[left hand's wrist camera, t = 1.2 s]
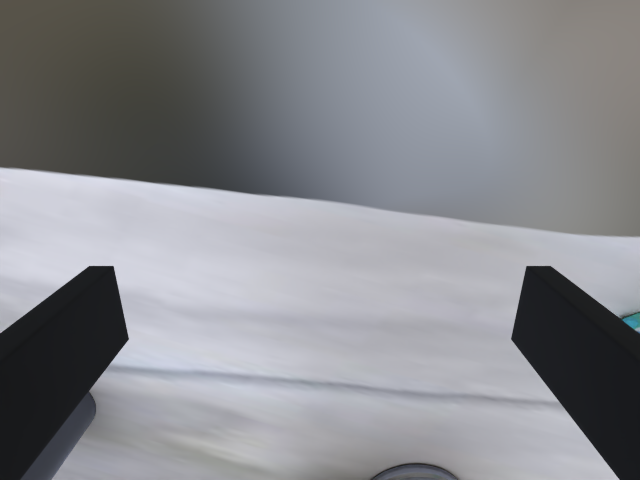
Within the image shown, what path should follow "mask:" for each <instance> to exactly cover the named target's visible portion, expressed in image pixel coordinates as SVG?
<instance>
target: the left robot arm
mask: <svg viewBox="0 0 640 480" xmlns="http://www.w3.org/2000/svg"><path fill="white" fill-rule="evenodd" d="M128 340H129V338H128V333H127V328H126V323H125V319H124V314H123V309H122V304H121V300H120V295H119V290H118V285H117V281H116V276H115V271H114V266H89V267H88V268H86V269H85V270H84V271H82V272H81V273H80V274H78V275H77V276H76V277H74V278H73V279H72V280H70V281H69V282H68V283H66V284H65V285H64V286H62V287H61V288H60V289H58V290H57V291H56V292H55V293H53V294H52V295H51V296H49V297H48V298H47V299H45V300H44V301H43V302H41V303H40V304H39V305H37V306H36V307H35V308H33V309H32V310H31V311H29V312H28V313H27V314H25V315H24V316H23V317H21V318H20V319H19V320H17V321H16V322H15V323H14V324H12V325H11V326H10V327H8V328H7V329H6V330H4V331H3V332H2V333H0V480H20V479H21V478H22V477H23V476H24V474H25V473H26V472H27V470H28V469H29V468H30V466H31V465H32V464H33V463H34V461H35V460H36V459H37V457H38V456H39V455H40V454H41V452H42V451H43V450H44V448H45V447H46V446H47V444H48V443H49V442H50V441H51V439H52V438H53V437H54V435H55V434H56V433H57V432H58V430H59V429H60V428H61V426H62V425H63V424H64V422H65V421H66V420H67V419H68V417H69V416H70V415H71V413H72V412H73V411H74V410H75V408H76V407H77V406H78V404H79V403H80V402H81V400H82V399H83V398H84V397H85V395H86V394H87V393H88V391H89V390H90V389H91V387H92V386H93V385H94V384H95V382H96V381H97V380H98V378H99V377H100V376H101V375H102V373H103V372H104V371H105V369H106V368H107V367H108V365H109V364H110V363H111V362H112V360H113V359H114V358H115V356H116V355H117V354H118V353H119V351H120V350H121V349H122V347H123V346H124V345H125V343H126V342H127V341H128ZM511 340H512V341H513V342H514V343H515V345H516V346H517V347H518V349H519V350H520V351H521V353H522V354H523V355H524V356H525V358H526V359H527V360H528V362H529V363H530V364H531V365H532V367H533V368H534V369H535V371H536V372H537V373H538V375H539V376H540V377H541V378H542V380H543V381H544V382H545V384H546V385H547V386H548V387H549V389H550V390H551V391H552V393H553V394H554V395H555V397H556V398H557V399H558V400H559V402H560V403H561V404H562V406H563V407H564V408H565V410H566V411H567V412H568V413H569V415H570V416H571V417H572V419H573V420H574V421H575V422H576V424H577V425H578V426H579V428H580V429H581V430H582V432H583V433H584V434H585V435H586V437H587V438H588V439H589V441H590V442H591V443H592V444H593V446H594V447H595V448H596V450H597V451H598V452H599V454H600V455H601V456H602V457H603V459H604V460H605V461H606V463H607V464H608V465H609V466H610V468H611V469H612V470H613V472H614V473H615V474H616V476H617V477H618V478H619V479H620V480H640V333H638V332H637V331H636V330H634V329H633V328H632V327H630V326H629V325H628V324H626V323H625V322H624V321H623V320H621V319H620V318H619V317H617V316H616V315H615V314H613V313H612V312H611V311H609V310H608V309H607V308H605V307H604V306H603V305H601V304H600V303H599V302H597V301H596V300H595V299H593V298H592V297H591V296H589V295H588V294H587V293H585V292H584V291H583V290H582V289H580V288H579V287H578V286H576V285H575V284H574V283H572V282H571V281H570V280H568V279H567V278H566V277H564V276H563V275H562V274H560V273H559V272H558V271H556V270H555V269H554V268H552V267H551V266H526V271H525V276H524V281H523V285H522V290H521V295H520V300H519V304H518V309H517V314H516V319H515V323H514V328H513V333H512V338H511ZM372 480H457V479H456V478H455V477H454V476H453V475H452V474H450V473H449V472H447V471H445V470H443V469H440V468H437V467H434V466H429V465H418V464H416V465H404V466H399V467H395V468H392V469H389V470H387V471H385V472H383V473H381V474H379V475H378V476H376V477H375V478H373V479H372Z"/></svg>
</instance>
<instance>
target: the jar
mask: <svg viewBox="0 0 640 480" xmlns="http://www.w3.org/2000/svg"><path fill="white" fill-rule="evenodd" d="M95 413H96V406H95V402H94V400H93V397H92V396H91V394H90V393H89V392H88V393H87V394H86V395H85V397H84V398H83V399H82V400H81V402H80V403H79V404H78V406H77V407H76V408H75V410H74V411H73V412H72V413H71V415H70V416H69V417H68V419H67V420H66V421H65V422H64V424H63V425H62V426H61V428H60V429H59V430H58V432H57V433H56V434H55V435H54V437H53V438H52V439H51V441H50V442H49V443H48V444H47V446H46V447H45V448H44V450H43V451H42V452H41V454H40V455H39V456H38V457H37V459H36V460H35V461H34V463H33V464H32V465H31V466H30V468H29V469H28V470H27V472H26V473H25V474H24V476H23V477H22V478H21V479H20V480H51V479H52V478H53V477H54V475H55V474H56V472H57V471H58V469H59V468H60V466H61V465H62V464H63V462H64V461H65V459H66V458H67V456H68V455H69V453H70V452H71V451H72V449H73V448H74V446H75V445H76V443H77V442H78V440H79V439H80V438H81V436H82V435H83V433H84V432H85V430H86V429H87V427H88V426H89V425H90V423H91V422H92V420H93V419H94V416H95Z"/></svg>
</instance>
